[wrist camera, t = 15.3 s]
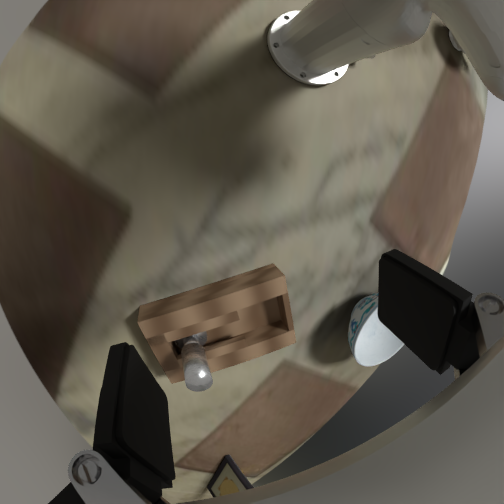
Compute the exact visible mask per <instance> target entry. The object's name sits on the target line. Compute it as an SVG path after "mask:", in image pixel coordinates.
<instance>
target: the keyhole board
mask: <svg viewBox="0 0 504 504" xmlns="http://www.w3.org/2000/svg"><path fill="white" fill-rule="evenodd" d="M137 323H138V325H139V327H140V329H141V331H142V332H143V334H144V336H145V338H146V340H147V342H148V344H149V346H150V347H151V349H152V351H153V353H154V355H155V356H156V358H157V360H158V362H159V363H160V365H161V367H162V368H163V370H164V372H165V373H166V375H167V377H168V378H169V380H170V382H171V383H172V384H173V383H176V382H180V381H184V380H185V377H184V370H183V363H182V355H181V350H182V349H181V348H179V347H178V346H177V345H176V343H175V340H178V339H182V338H185V337H188V336H191V335H195V334H198V333H201V332H204V331H206V333H207V341H206V343H205V344H204V345H203V347H204V349H205V353H206V357H207V361H208V365H209V369H210V373H211V372H215V371H218V370H221V369H224V368H227V367H230V366H234V365H237V364H240V363H242V362H245V361H248V360H251V359H254V358H257V357H260V356H262V355H265V354H268V353H271V352H273V351H276V350H278V349H281V348H284V347H286V346H289V345H291V344H294V343H296V338H295V332H294V326H293V320H292V314H291V308H290V302H289V297H288V291H287V285H286V280H285V275H284V274H283V273H282V272H281V271H280V270H279V269H278V268H277V267H276V266H275V265H274V264H270V265H267V266H264V267H261V268H258V269H255V270H252V271H249V272H246V273H243V274H240V275H237V276H233V277H230V278H227V279H224V280H221V281H218V282H215V283H212V284H209V285H205V286H202V287H199V288H196V289H193V290H190V291H186V292H183V293H180V294H177V295H174V296H170V297H167V298H164V299H161V300H158V301H154V302H151V303H148V304H145V305H141V306H140V308H139V315H138V322H137Z"/></svg>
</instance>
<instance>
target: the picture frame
mask: <svg viewBox="0 0 504 504" xmlns="http://www.w3.org/2000/svg"><path fill="white" fill-rule="evenodd" d="M207 488H208V490H209V491H210V493H211V494H212V496H213V497H219V496H223V495H227V494H232V493H236V492H240V491H244V490H248V489H252V488H254V487H253V486H252V485H251V483H250V482H249V481H248V479H247V478H246V477H245V475H244V474H243V471H242V470H240V469H239V467H238V466H237V464H236V463H235V462H234V460H233V459H232V457H231V456H230V455H226V456H225V458H224V460H223V461H222V463H221V465H220V467H219V468H218V470H217V472H216V473H215V475H214V477H213V478H212V480H211V482H210V483H209V485H208V487H207Z"/></svg>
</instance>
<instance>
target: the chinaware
mask: <svg viewBox="0 0 504 504" xmlns="http://www.w3.org/2000/svg"><path fill="white" fill-rule="evenodd" d="M377 313H378V292H376V293H374V294H372V295H370V296H367V297H364V298H363V299H361V300H360V301H359V302H358V303H357V304H356V305H355V307H354V309H353V311H352V313H351V320H350V323H349V328H348V341H349V346H350V349H351V352H352V354H353V356H354V358H355V360H356V361H357V362H358V363H359V364H360V365H362V366H374V365H378V364H380V363H382V362H384V361H386V360H387V359H389V358H390V357H392V356H393V355H394V354H395V353H396V352H397V351H398V350H399V349H400V348H401V347H402V346H403V345H404V343H403V342H402V341H401V340H400V339H399V338H397V337H396V336H395V335H394V334H393V333H392V332H391V331H390V330H389V329H388V328H387V327H386V326H384V325H383V324H382V323H381V322H380V320H379V318H378V314H377Z"/></svg>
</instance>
